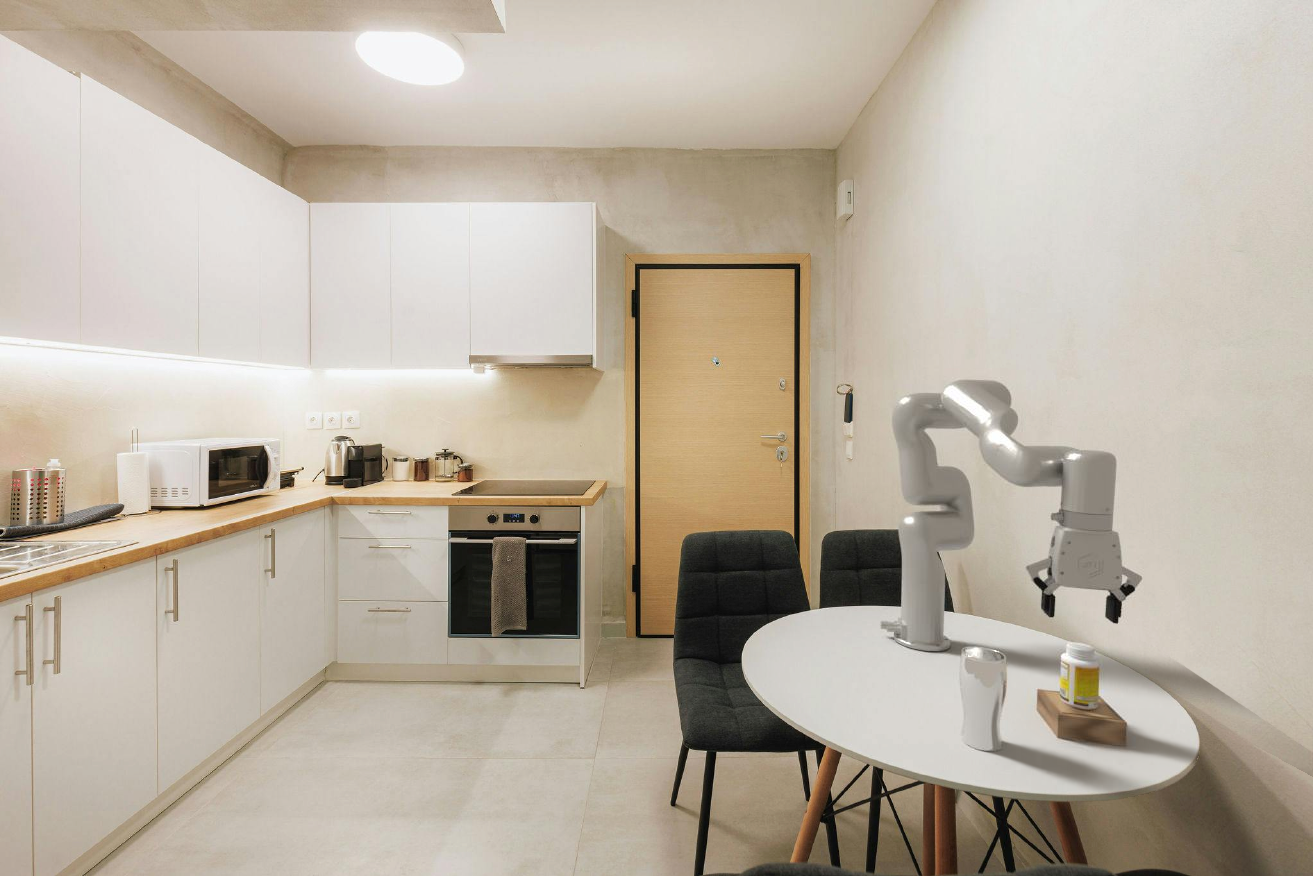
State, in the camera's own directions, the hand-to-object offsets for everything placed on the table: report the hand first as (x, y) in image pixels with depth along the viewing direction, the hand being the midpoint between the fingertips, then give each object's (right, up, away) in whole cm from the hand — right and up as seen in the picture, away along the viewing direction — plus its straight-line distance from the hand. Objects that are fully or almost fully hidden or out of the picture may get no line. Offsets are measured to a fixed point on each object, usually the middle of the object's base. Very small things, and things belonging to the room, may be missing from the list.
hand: (1079, 617), depth 106 cm
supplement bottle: (0, -15, 0) cm, 15 cm away
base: (0, -19, 0) cm, 19 cm away
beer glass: (-20, -20, -5) cm, 28 cm away
